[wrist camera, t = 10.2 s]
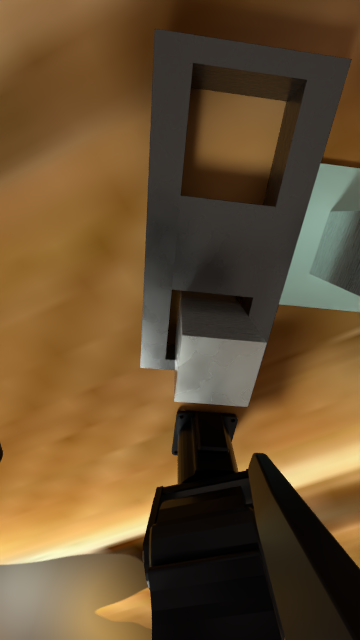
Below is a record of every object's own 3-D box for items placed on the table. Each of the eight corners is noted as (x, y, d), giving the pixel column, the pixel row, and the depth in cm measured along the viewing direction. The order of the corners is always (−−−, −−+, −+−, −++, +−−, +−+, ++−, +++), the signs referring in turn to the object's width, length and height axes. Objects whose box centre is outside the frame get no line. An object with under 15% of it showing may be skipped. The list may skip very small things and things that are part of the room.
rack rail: (249, 360, 22) (257, 376, 20) (144, 351, 22) (140, 367, 19) (323, 84, 14) (351, 59, 12) (158, 59, 14) (154, 28, 11)
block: (224, 341, 21) (247, 406, 14) (175, 337, 21) (174, 401, 14) (233, 295, 20) (266, 342, 12) (180, 290, 19) (182, 335, 12)
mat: (365, 311, 20) (369, 312, 20) (276, 302, 20) (278, 304, 19) (427, 178, 16) (433, 177, 16) (316, 164, 16) (319, 163, 15)
